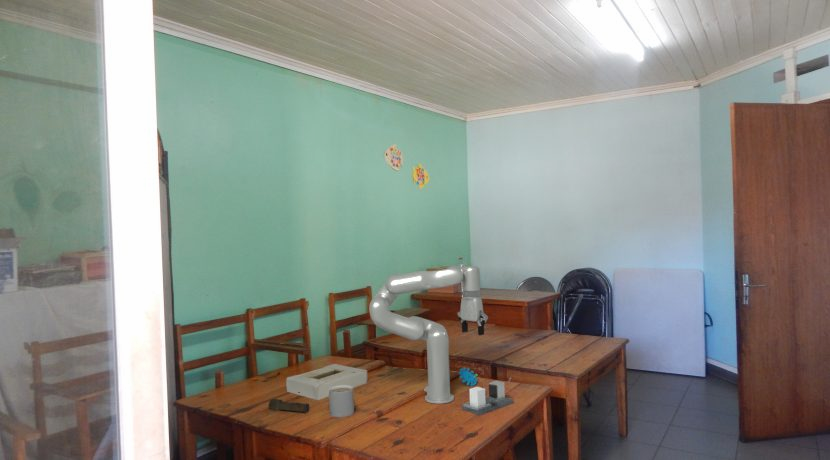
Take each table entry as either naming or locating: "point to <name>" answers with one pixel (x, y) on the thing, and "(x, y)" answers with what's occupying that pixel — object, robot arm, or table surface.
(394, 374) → the table surface
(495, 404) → the rail
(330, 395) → the coffee mug
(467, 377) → the gear
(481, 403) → the block
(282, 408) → the hand tool
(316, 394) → the box
